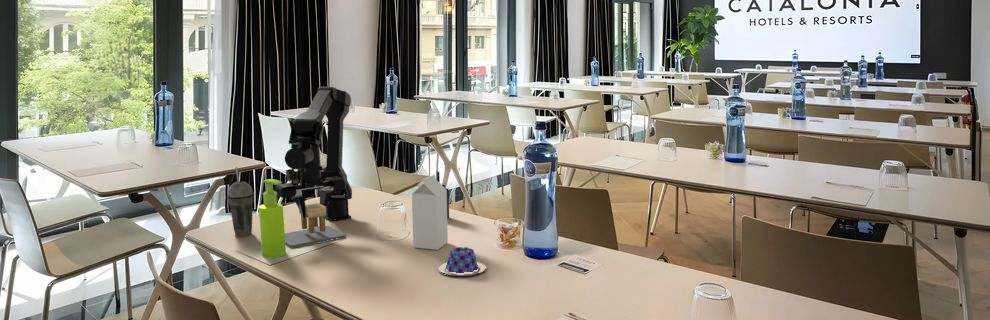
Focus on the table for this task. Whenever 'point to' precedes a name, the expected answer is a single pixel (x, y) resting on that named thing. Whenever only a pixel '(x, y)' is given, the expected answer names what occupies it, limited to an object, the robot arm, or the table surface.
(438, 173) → the walkie-talkie
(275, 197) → the soap dispenser
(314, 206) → the oak stool
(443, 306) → the table surface
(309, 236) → the grey rectangular board
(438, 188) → the milk carton
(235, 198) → the beverage cup
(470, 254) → the pudding
